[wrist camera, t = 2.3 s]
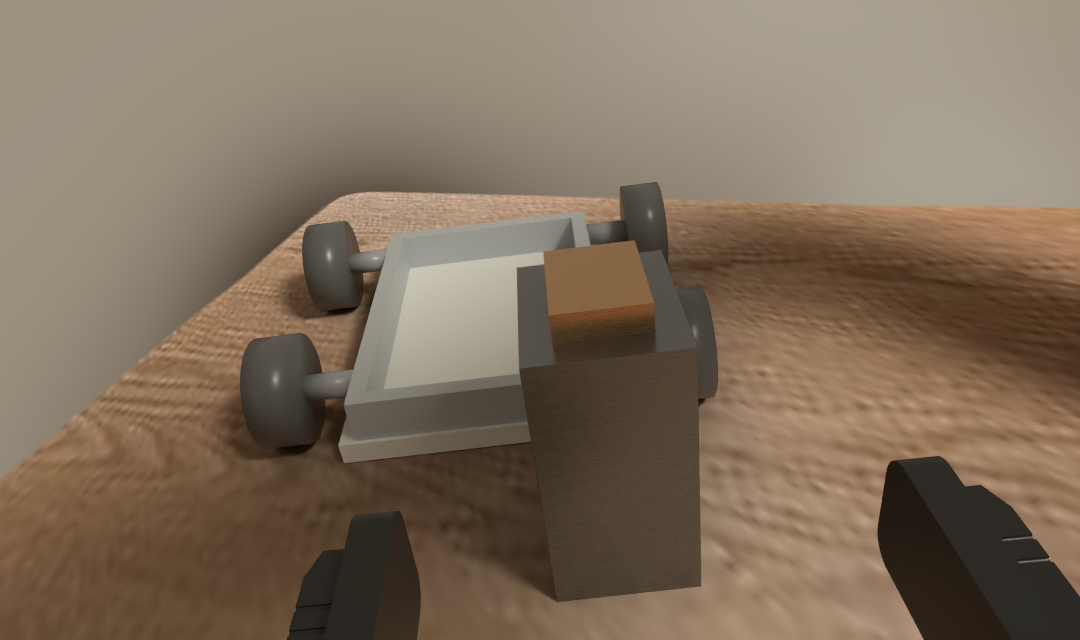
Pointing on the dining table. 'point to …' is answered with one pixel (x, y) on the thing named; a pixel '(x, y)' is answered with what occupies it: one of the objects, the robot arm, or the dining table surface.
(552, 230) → the chassis
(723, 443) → the dining table surface
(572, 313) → the tall block with cap
